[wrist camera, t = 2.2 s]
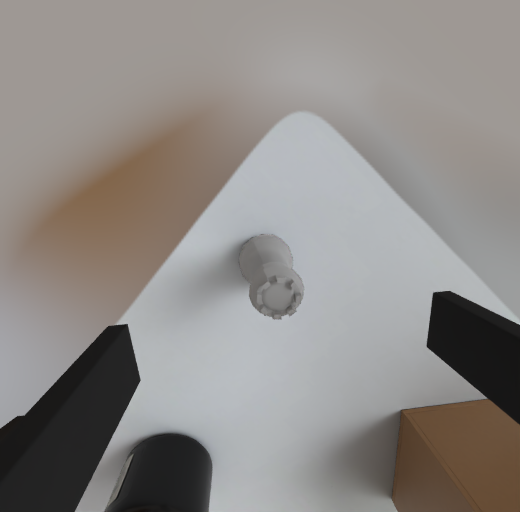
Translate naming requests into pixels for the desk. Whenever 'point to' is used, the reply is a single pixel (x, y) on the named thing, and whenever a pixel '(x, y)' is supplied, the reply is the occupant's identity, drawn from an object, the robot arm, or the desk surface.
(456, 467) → the carton
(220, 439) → the desk surface
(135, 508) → the ink bottle
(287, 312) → the rook chess piece
